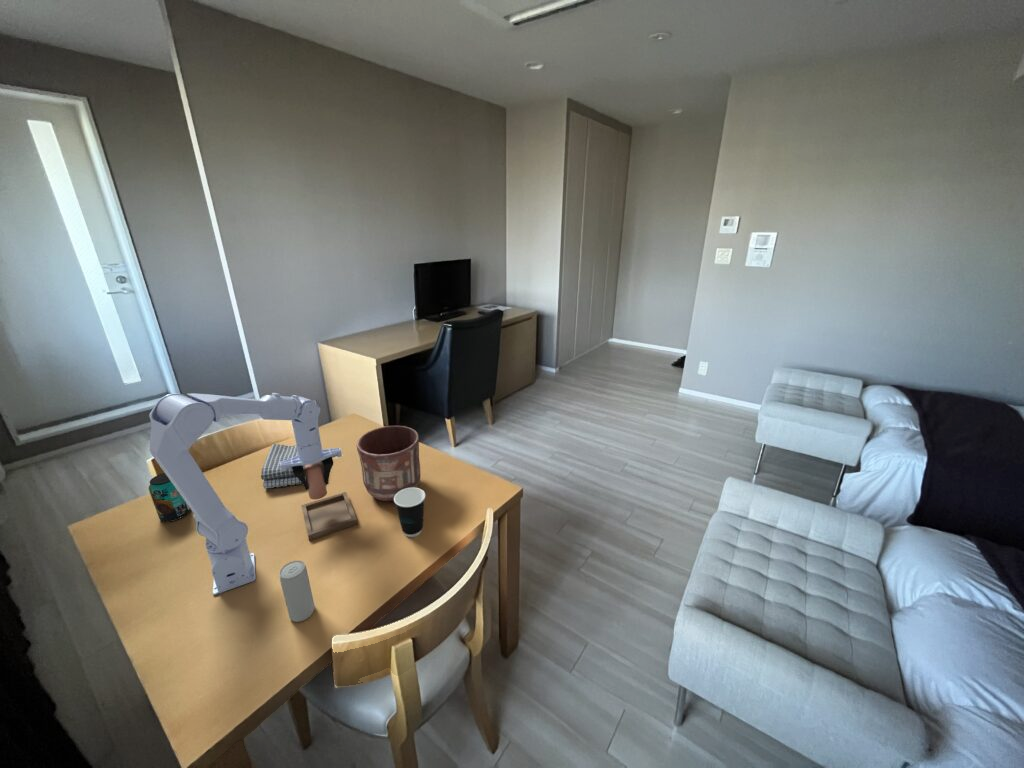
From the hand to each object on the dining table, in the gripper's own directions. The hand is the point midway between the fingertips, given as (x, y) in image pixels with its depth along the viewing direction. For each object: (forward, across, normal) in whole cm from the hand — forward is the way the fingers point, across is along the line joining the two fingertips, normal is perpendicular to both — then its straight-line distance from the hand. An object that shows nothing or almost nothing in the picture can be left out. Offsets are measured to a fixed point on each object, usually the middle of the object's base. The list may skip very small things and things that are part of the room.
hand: (316, 485), depth 110 cm
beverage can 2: (+10, +9, +31) cm, 34 cm away
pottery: (+10, -20, -1) cm, 23 cm away
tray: (+10, -2, +2) cm, 10 cm away
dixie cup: (+10, -19, +19) cm, 29 cm away
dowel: (+3, 0, 0) cm, 3 cm away
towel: (+10, +4, -28) cm, 30 cm away
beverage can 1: (+10, +34, -21) cm, 42 cm away
